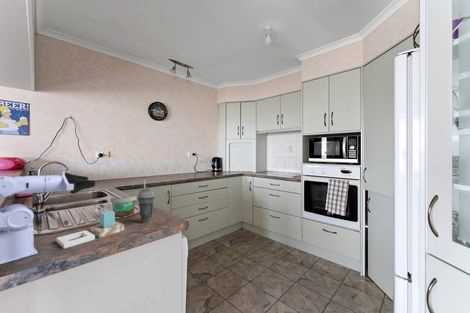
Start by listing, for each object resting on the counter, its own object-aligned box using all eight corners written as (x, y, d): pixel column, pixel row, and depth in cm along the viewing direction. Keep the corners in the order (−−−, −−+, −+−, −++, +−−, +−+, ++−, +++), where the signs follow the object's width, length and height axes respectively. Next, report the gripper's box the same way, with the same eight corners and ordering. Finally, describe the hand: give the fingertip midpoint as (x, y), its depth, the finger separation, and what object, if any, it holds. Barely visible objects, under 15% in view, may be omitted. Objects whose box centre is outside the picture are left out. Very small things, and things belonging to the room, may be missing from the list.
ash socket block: (99, 237, 75) (99, 231, 75) (90, 232, 81) (90, 226, 81) (124, 230, 83) (124, 224, 83) (114, 226, 88) (114, 220, 88)
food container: (106, 219, 97) (106, 199, 97) (111, 216, 103) (110, 196, 102) (134, 217, 100) (134, 197, 100) (137, 214, 106) (136, 195, 106)
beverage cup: (146, 225, 89) (145, 180, 89) (134, 223, 92) (133, 180, 92) (157, 220, 96) (157, 178, 96) (146, 218, 98) (146, 178, 98)
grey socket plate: (64, 248, 67) (64, 244, 67) (56, 241, 72) (56, 237, 72) (94, 239, 74) (94, 235, 74) (86, 233, 79) (86, 230, 79)
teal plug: (104, 234, 79) (103, 214, 79) (100, 232, 81) (99, 212, 81) (114, 231, 82) (114, 212, 82) (110, 229, 84) (110, 210, 84)
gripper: (50, 176, 63) (99, 175, 74) (40, 168, 71) (85, 168, 82) (48, 198, 63) (97, 193, 74) (38, 187, 72) (83, 185, 82)
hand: (90, 181), depth 78 cm, fingers open, 7 cm apart
